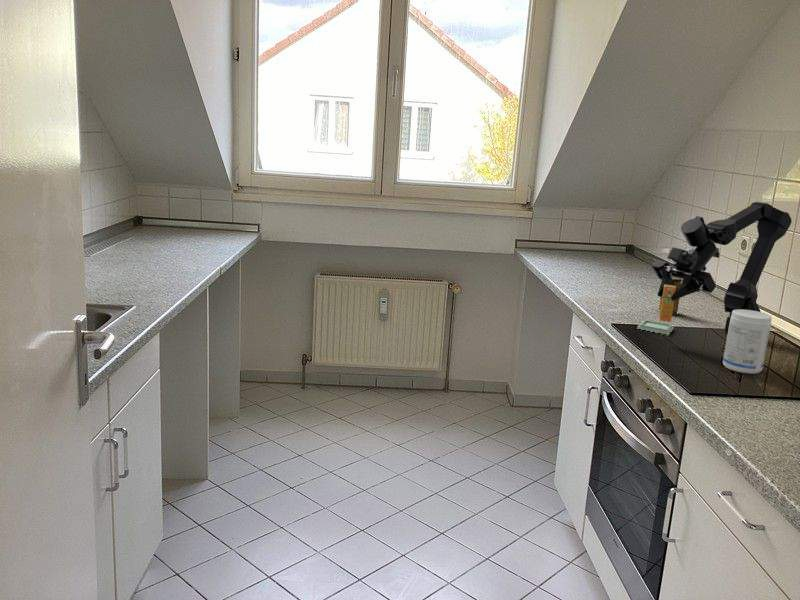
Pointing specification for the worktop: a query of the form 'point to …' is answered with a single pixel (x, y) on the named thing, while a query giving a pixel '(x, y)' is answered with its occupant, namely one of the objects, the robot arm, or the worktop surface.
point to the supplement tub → (747, 341)
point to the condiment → (676, 302)
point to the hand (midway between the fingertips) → (665, 297)
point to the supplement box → (667, 303)
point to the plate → (656, 327)
